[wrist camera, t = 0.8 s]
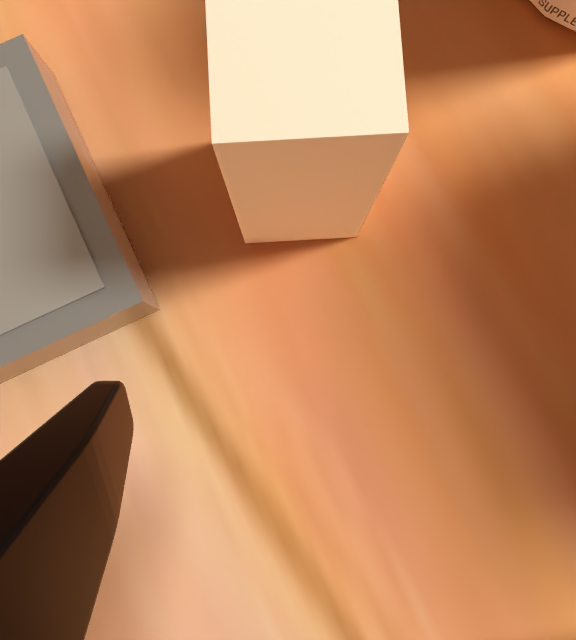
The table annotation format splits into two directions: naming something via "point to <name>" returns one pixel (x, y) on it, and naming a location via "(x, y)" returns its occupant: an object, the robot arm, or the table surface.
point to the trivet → (55, 227)
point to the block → (305, 111)
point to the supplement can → (558, 11)
